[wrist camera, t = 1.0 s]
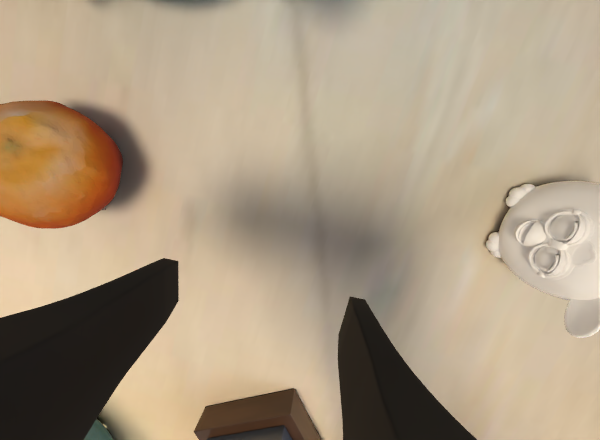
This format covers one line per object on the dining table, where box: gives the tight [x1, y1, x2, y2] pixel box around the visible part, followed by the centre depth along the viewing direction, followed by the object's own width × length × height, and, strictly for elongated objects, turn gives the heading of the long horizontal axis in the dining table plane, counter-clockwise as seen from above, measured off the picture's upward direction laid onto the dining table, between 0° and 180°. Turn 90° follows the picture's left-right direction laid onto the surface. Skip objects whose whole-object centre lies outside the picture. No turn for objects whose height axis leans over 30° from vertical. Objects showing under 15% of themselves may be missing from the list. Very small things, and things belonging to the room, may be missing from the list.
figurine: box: [486, 181, 600, 338], centre depth 15 cm, size 8×6×7 cm
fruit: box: [0, 101, 123, 228], centre depth 19 cm, size 8×8×8 cm
